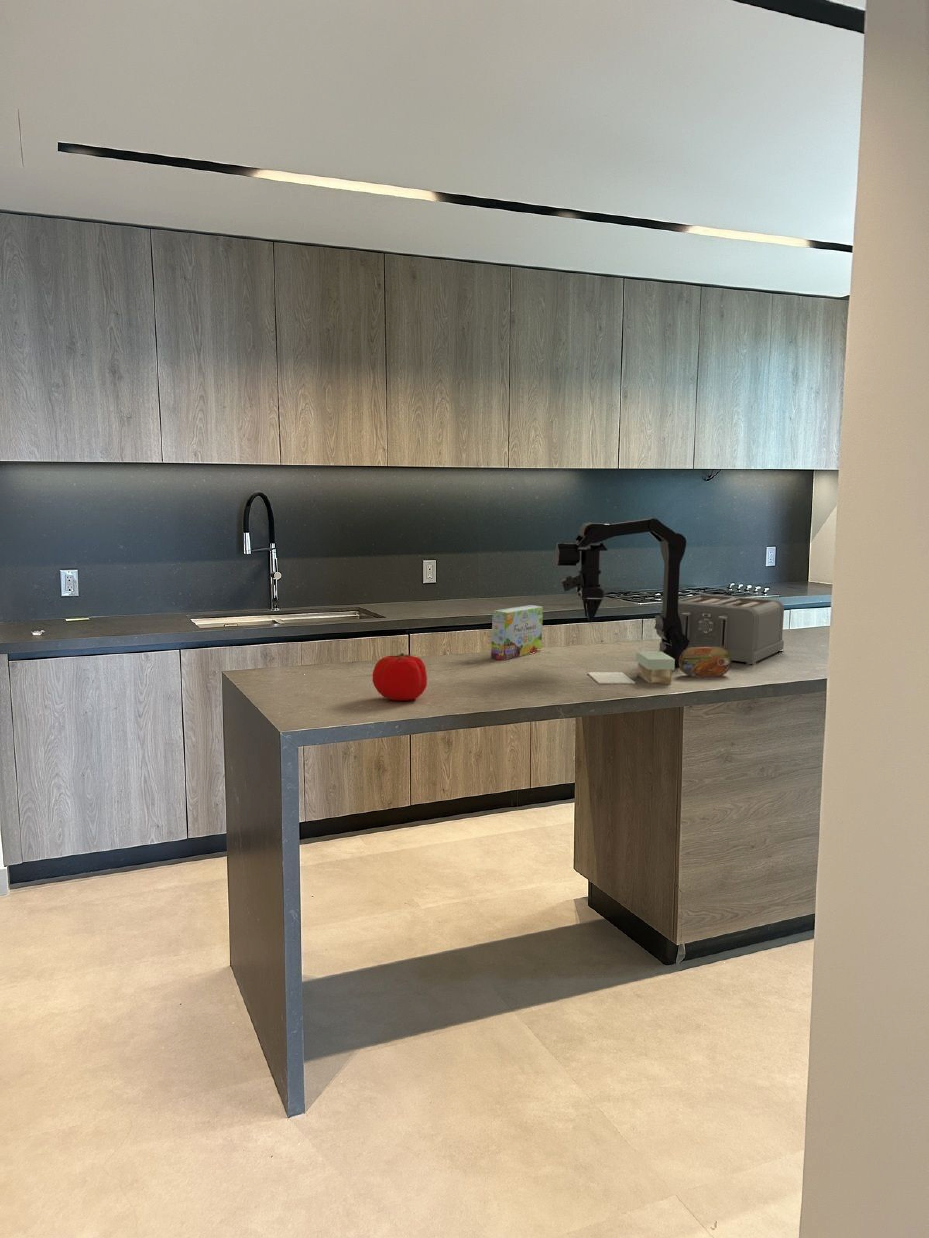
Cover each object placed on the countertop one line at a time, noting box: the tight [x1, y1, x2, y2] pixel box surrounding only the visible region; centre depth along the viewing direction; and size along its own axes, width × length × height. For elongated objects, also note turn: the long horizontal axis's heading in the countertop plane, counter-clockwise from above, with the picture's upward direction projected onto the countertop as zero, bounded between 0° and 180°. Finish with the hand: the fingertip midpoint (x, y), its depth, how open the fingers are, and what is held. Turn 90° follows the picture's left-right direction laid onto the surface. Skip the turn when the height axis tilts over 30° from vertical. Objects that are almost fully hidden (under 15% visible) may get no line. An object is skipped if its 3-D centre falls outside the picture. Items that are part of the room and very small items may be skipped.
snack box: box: [490, 604, 544, 661], centre depth 291 cm, size 21×6×15 cm, turn 143°
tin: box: [678, 647, 732, 678], centre depth 263 cm, size 15×3×8 cm, turn 99°
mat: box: [587, 671, 636, 685], centre depth 257 cm, size 10×14×1 cm
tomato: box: [372, 652, 428, 702], centre depth 227 cm, size 12×13×12 cm
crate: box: [637, 662, 673, 685], centre depth 257 cm, size 6×12×4 cm, turn 5°
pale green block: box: [635, 650, 675, 671], centre depth 256 cm, size 7×12×4 cm, turn 5°
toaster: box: [658, 593, 785, 665], centre depth 299 cm, size 31×36×17 cm
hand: (588, 619), depth 272 cm, fingers open, 9 cm apart
